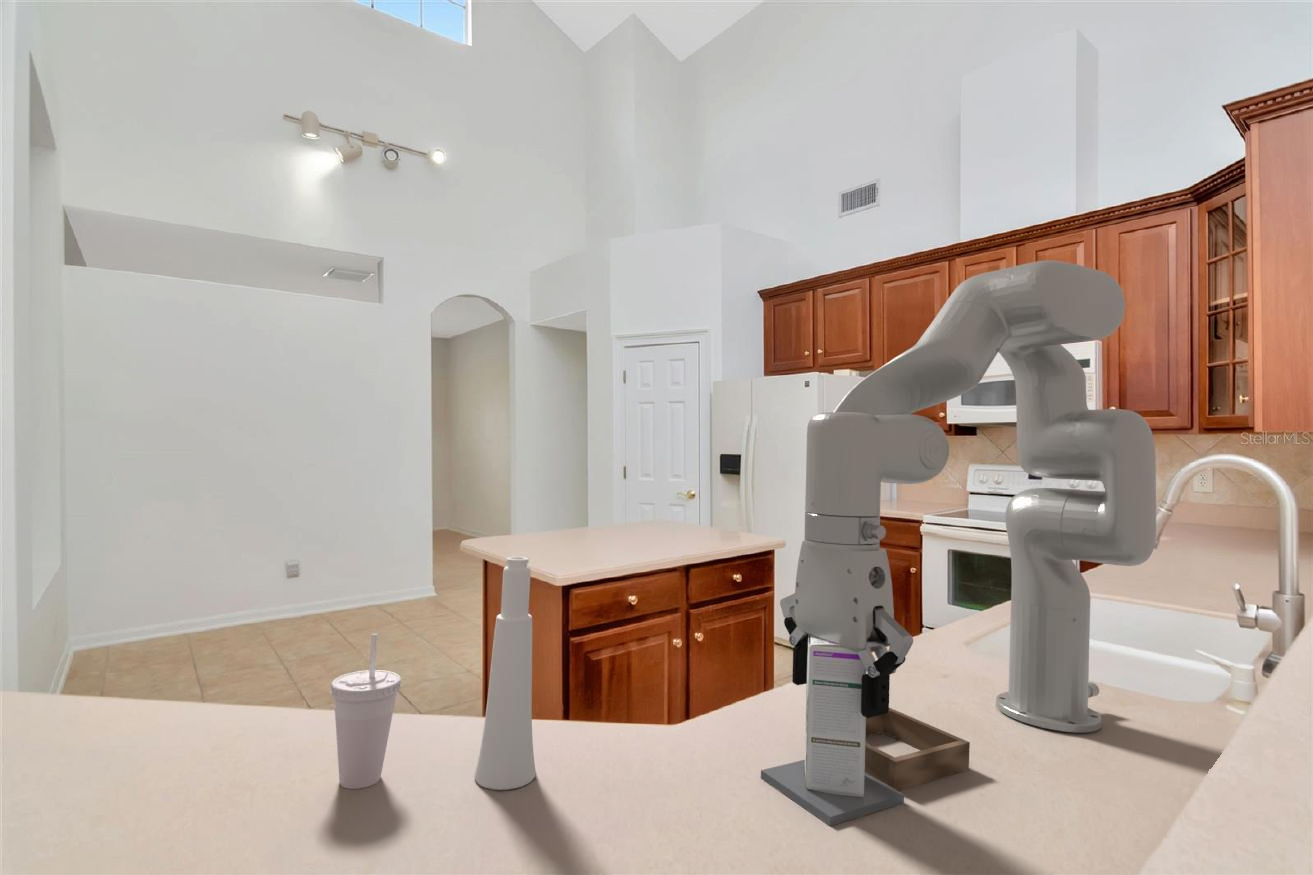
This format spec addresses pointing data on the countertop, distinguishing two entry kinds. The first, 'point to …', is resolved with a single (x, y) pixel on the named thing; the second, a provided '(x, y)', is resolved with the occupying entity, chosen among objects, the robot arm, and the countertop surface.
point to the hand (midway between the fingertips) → (837, 697)
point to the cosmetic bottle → (510, 689)
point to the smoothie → (363, 721)
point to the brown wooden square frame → (931, 763)
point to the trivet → (828, 804)
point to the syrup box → (834, 720)
